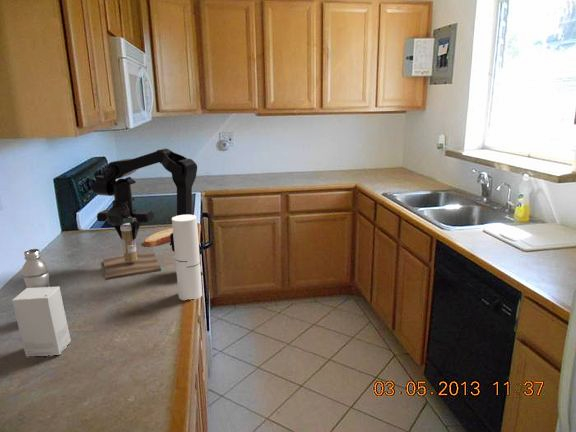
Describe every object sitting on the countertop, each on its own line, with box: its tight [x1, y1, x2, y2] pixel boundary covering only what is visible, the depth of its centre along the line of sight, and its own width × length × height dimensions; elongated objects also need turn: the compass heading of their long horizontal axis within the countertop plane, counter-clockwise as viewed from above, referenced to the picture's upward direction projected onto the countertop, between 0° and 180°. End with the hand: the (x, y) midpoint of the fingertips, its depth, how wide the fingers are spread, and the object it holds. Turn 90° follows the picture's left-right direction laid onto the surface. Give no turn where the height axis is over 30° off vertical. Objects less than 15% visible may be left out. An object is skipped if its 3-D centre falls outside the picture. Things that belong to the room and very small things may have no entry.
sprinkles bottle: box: [120, 222, 138, 262], centre depth 152 cm, size 5×5×13 cm
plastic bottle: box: [21, 248, 51, 288], centre depth 115 cm, size 6×7×20 cm
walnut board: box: [103, 251, 162, 281], centre depth 154 cm, size 18×18×1 cm
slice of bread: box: [143, 227, 173, 248], centre depth 182 cm, size 18×18×4 cm
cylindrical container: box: [171, 214, 203, 301], centre depth 128 cm, size 7×7×25 cm
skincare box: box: [11, 286, 72, 357], centre depth 101 cm, size 8×7×16 cm
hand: (128, 239), depth 151 cm, fingers closed on sprinkles bottle, 4 cm apart
